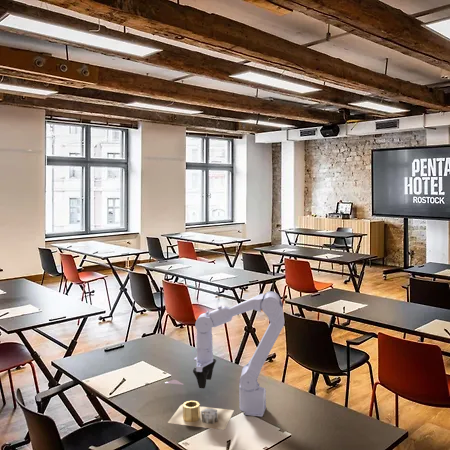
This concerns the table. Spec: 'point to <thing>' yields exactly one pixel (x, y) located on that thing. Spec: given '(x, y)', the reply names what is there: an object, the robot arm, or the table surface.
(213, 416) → the sun gear
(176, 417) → the plate
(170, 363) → the table surface
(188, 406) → the octagonal wooden pipe
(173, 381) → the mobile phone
